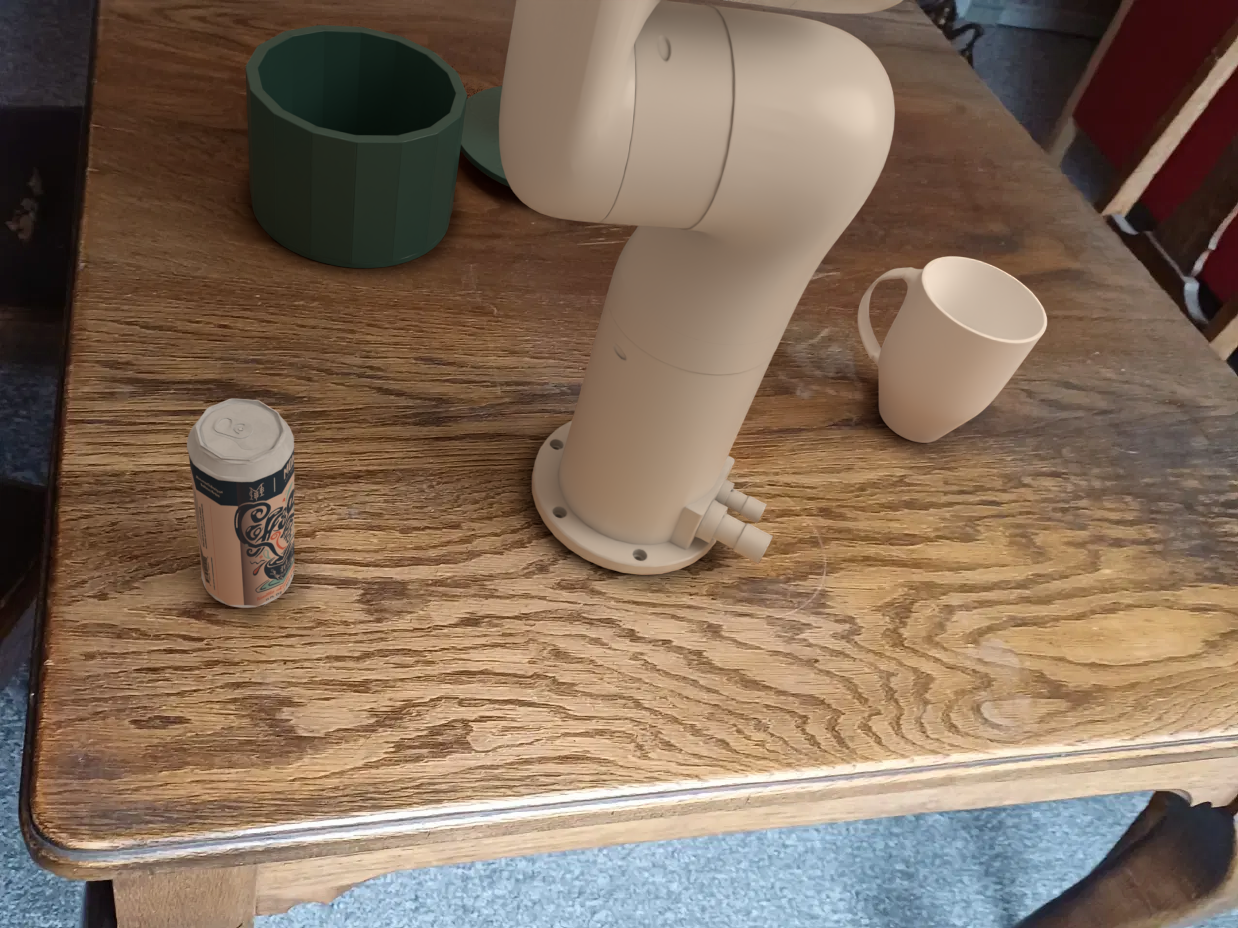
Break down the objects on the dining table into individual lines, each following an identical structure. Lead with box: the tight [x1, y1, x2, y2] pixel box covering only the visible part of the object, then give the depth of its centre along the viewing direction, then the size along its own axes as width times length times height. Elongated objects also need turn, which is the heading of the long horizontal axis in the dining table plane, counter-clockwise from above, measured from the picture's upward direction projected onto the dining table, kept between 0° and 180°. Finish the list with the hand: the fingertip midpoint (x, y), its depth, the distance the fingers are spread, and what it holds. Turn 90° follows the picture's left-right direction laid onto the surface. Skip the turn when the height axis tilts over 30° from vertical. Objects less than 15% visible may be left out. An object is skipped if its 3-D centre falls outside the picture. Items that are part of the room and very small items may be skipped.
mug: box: [857, 255, 1048, 444], centre depth 76 cm, size 12×9×12 cm
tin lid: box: [460, 85, 511, 189], centre depth 88 cm, size 16×16×7 cm
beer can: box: [186, 398, 295, 609], centre depth 54 cm, size 5×5×12 cm
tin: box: [244, 24, 468, 269], centre depth 78 cm, size 15×15×10 cm
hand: (550, 129), depth 89 cm, fingers closed on tin lid, 3 cm apart
